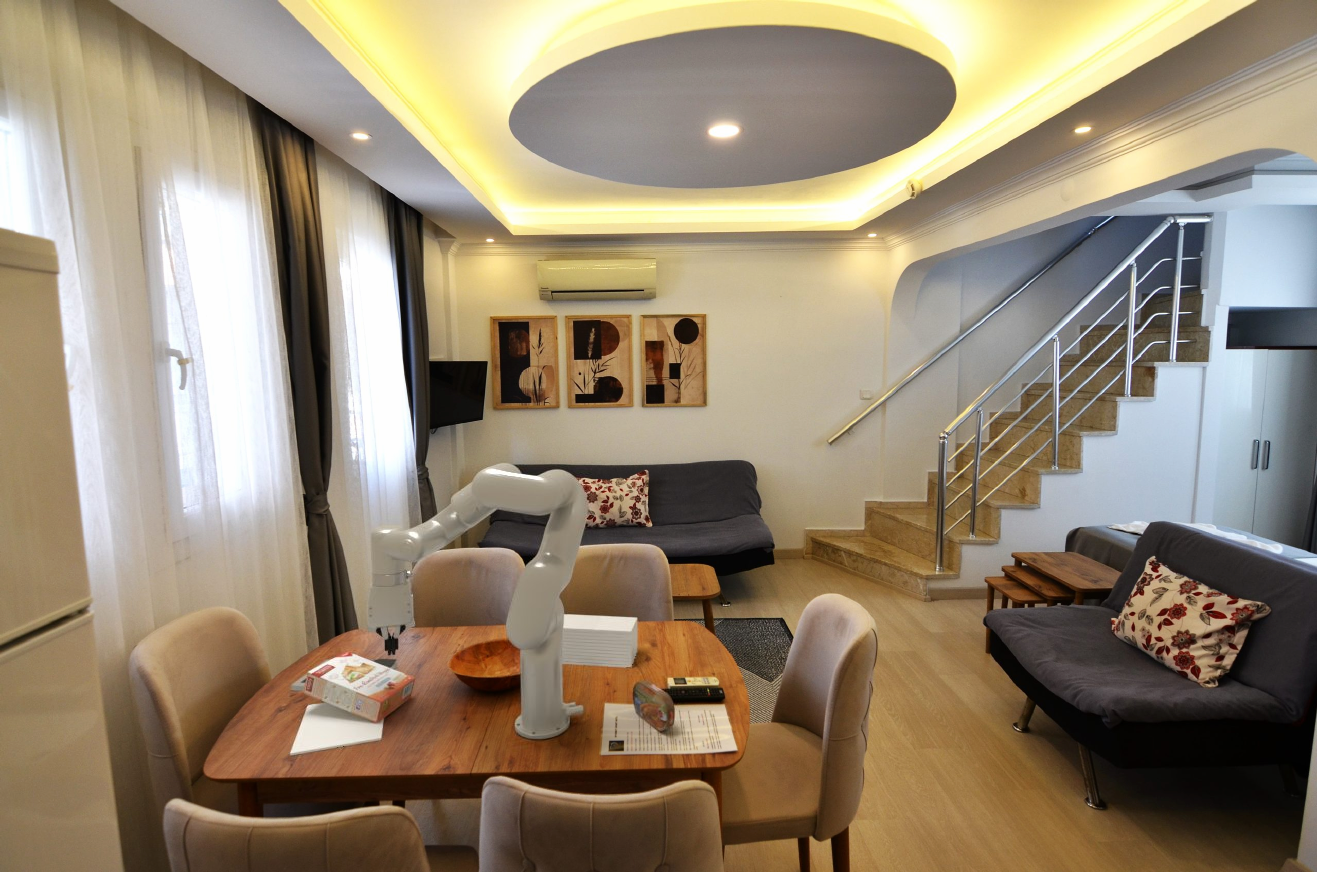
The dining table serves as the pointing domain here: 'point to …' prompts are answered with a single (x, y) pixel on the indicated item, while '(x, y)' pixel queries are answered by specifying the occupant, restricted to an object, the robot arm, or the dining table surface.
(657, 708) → the tin
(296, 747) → the white flat panel
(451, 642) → the dining table surface
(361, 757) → the dining table surface
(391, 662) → the picture frame
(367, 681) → the cracker box
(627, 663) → the stack of papers
